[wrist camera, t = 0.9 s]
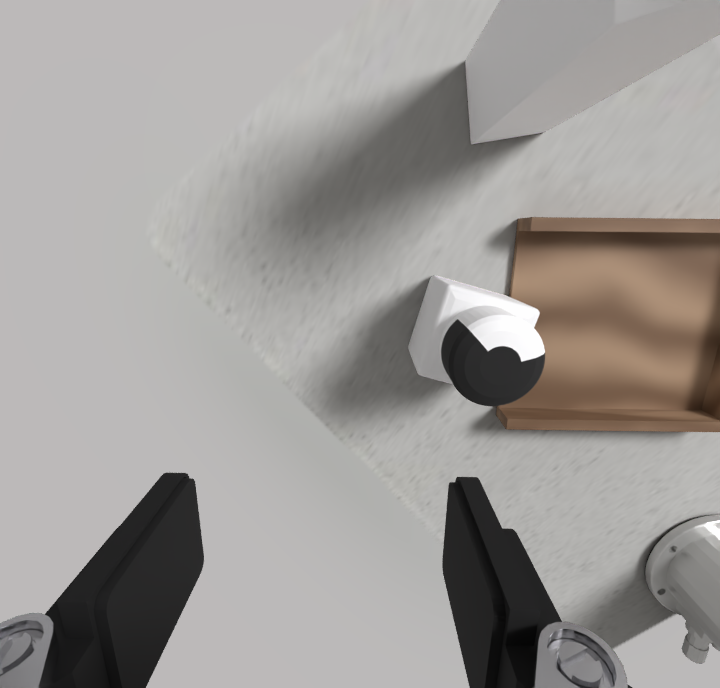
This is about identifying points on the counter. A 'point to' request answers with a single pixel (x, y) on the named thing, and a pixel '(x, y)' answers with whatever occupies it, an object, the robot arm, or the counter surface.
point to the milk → (572, 57)
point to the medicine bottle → (477, 342)
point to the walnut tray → (621, 324)
